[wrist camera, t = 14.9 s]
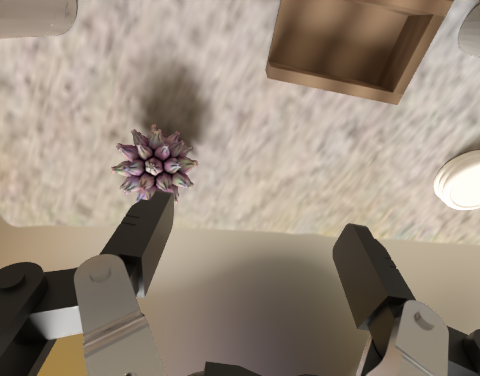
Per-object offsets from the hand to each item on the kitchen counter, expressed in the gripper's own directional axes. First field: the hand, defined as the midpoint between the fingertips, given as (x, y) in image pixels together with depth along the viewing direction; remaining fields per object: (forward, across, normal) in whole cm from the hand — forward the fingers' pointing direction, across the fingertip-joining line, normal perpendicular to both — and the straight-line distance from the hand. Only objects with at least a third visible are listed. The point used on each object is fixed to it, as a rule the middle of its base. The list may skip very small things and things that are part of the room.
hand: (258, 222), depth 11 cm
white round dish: (+28, -38, +7) cm, 48 cm away
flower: (+28, +12, +12) cm, 33 cm away
